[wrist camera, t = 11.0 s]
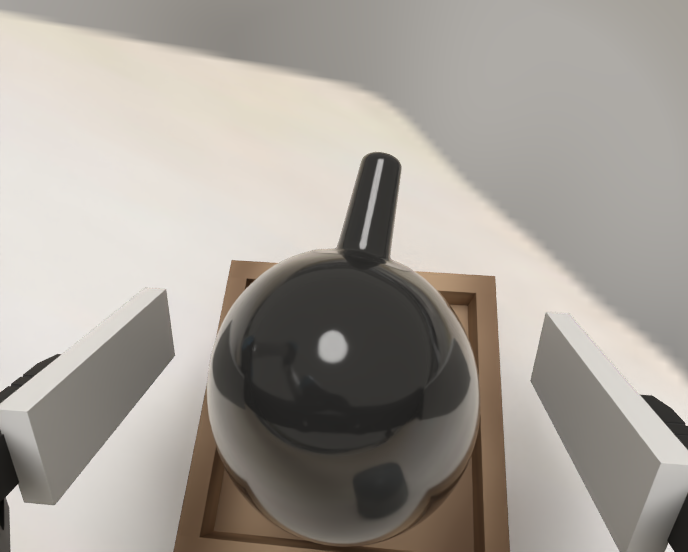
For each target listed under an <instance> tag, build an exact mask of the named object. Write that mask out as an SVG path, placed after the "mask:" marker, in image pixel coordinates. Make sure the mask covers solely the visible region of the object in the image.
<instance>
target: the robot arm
mask: <svg viewBox="0 0 688 552" xmlns="http://www.w3.org/2000/svg"><path fill="white" fill-rule="evenodd" d="M174 356H175V353H174V345H173V337H172V330H171V322H170V315H169V307H168V300H167V292H166V289H161V288H144V289H143V290H141V291H140V292H139V293H138V294H136V295H135V296H134V297H133V298H131V299H130V300H129V301H128V302H126V303H125V304H124V305H123V306H121V307H120V308H119V309H118V310H116V311H115V312H114V313H113V314H111V315H110V316H109V317H108V318H106V319H105V320H104V321H103V322H101V323H100V324H99V325H98V326H96V327H95V328H94V329H93V330H91V331H90V332H89V333H88V334H86V335H85V336H84V337H83V338H81V339H80V340H79V341H78V342H76V343H75V344H74V345H73V346H71V347H70V348H69V349H68V350H67V351H65V352H64V353H63V354H56V355H54V356H52V357H50V358H48V359H46V360H44V361H42V362H40V363H38V364H36V365H35V366H34V367H32V368H31V369H30V370H29V371H27V372H26V373H25V374H23V377H20V378H18V379H17V380H16V381H14V382H13V383H12V384H11V386H8V387H7V388H5V389H4V390H3V391H1V392H0V552H10V521H9V506H8V503H7V500H6V496H7V495H8V494H9V493H10V492H11V491H12V490H13V489H14V488H15V487H16V485H17V484H18V485H19V488H20V491H21V494H22V497H23V500H24V502H25V503H36V504H47V505H55V504H56V503H57V502H58V500H59V499H60V498H61V497H62V496H63V494H64V493H65V492H66V491H67V489H68V488H69V487H70V486H71V484H72V483H73V482H74V481H75V479H76V478H77V477H78V476H79V474H80V473H81V472H82V471H83V469H84V468H85V467H86V466H87V464H88V463H89V462H90V461H91V459H92V458H93V457H94V456H95V454H96V453H97V452H98V451H99V449H100V448H101V447H102V446H103V445H104V443H105V442H106V441H107V440H108V438H109V437H110V436H111V435H112V433H113V432H114V431H115V430H116V428H117V427H118V426H119V425H120V423H121V422H122V421H123V420H124V418H125V417H126V416H127V415H128V413H129V412H130V411H131V410H132V408H133V407H134V406H135V405H136V403H137V402H138V401H139V400H140V398H141V397H142V396H143V395H144V393H145V392H146V391H147V390H148V389H149V387H150V386H151V385H152V384H153V382H154V381H155V380H156V379H157V377H158V376H159V375H160V374H161V372H162V371H163V370H164V369H165V367H166V366H167V365H168V364H169V362H170V361H171V360H172V359H173V357H174ZM531 383H532V385H533V387H534V388H535V390H536V392H537V394H538V396H539V398H540V400H541V402H542V404H543V406H544V408H545V410H546V411H547V413H548V415H549V417H550V419H551V421H552V423H553V425H554V427H555V429H556V431H557V433H558V434H559V436H560V438H561V440H562V442H563V444H564V446H565V448H566V450H567V452H568V454H569V455H570V457H571V459H572V461H573V463H574V465H575V467H576V469H577V471H578V473H579V475H580V477H581V478H582V480H583V482H584V484H585V486H586V488H587V490H588V492H589V494H590V496H591V498H592V500H593V501H594V503H595V505H596V507H597V509H598V511H599V513H600V515H601V517H602V519H603V521H604V522H605V524H606V526H607V528H608V530H609V532H610V534H611V536H612V538H613V540H614V542H615V544H616V545H617V547H618V549H619V551H620V552H665V549H666V547H667V545H668V542H669V544H670V546H671V547H672V549H673V550H674V552H688V426H685V422H684V421H683V420H682V419H681V418H680V417H679V416H678V415H677V414H676V413H675V412H674V410H673V409H672V408H670V407H669V406H667V405H666V404H664V403H663V402H661V401H660V400H658V399H657V398H655V397H654V396H650V395H640V394H639V393H638V392H637V391H636V390H635V389H634V387H633V386H632V385H631V384H630V383H629V382H628V381H627V379H626V378H625V377H624V376H623V375H622V374H621V372H620V371H619V370H618V369H617V368H616V367H615V366H614V364H613V363H612V362H611V361H610V360H609V359H608V357H607V356H606V355H605V354H604V353H603V352H602V351H601V349H600V348H599V347H598V346H597V345H596V344H595V342H594V341H593V340H592V339H591V338H590V337H589V335H588V334H587V333H586V332H585V331H584V330H583V329H582V327H581V326H580V325H579V324H578V323H577V322H576V320H575V319H574V318H573V317H572V316H571V315H570V314H569V313H554V312H546V314H545V319H544V323H543V327H542V332H541V336H540V341H539V345H538V350H537V354H536V359H535V363H534V368H533V372H532V376H531Z"/></svg>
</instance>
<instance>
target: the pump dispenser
mask: <svg viewBox="0 0 688 552" xmlns="http://www.w3.org/2000/svg"><path fill="white" fill-rule="evenodd" d="M400 176H401V164H400V162H399V161H398V159H396V158H395V157H394V156H392V155H390V154H387V153H382V152H373V153H369V154H367V155H366V156H364V157H363V159H362V161H361V164H360V168H359V171H358V175H357V178H356V182H355V186H354V189H353V193H352V196H351V200H350V203H349V207H348V210H347V214H346V218H345V221H344V225H343V228H342V232H341V235H340V239H339V242H338V245H337V247H336V248H335V249H317V250H312V251H308V252H305V253H301V254H298V255H295V256H292V257H290V258H288V259H285V260H283V261H281V262H279V263H278V264H276V265H274V266H273V267H271V268H270V269H268V270H267V271H265V272H264V273H263V274H261V275H260V276H259V277H258V278H256V279H255V280H254V281H253V282H252V283H251V284H250V285H249V286H248V287H247V288H246V289H245V290H244V291H243V292H242V293H241V295H240V296H239V297H238V298H237V300H236V301H235V302H234V304H233V305H232V307H231V308H230V310H229V312H228V313H227V315H226V317H225V319H224V321H223V323H222V325H221V327H220V329H219V331H218V334H217V337H216V339H215V342H214V345H213V349H212V353H211V357H210V362H209V368H208V377H207V404H208V413H209V420H210V425H211V430H212V434H213V438H214V442H215V445H216V448H217V451H218V454H219V456H220V459H221V461H222V463H223V465H224V467H225V470H226V471H227V473H228V475H229V477H230V479H231V480H232V482H233V484H234V485H235V486H236V488H237V489H238V491H239V492H240V493H241V495H242V496H243V497H244V498H245V499H246V501H247V502H248V503H249V504H250V505H251V506H252V507H253V508H254V509H255V510H256V511H257V512H258V513H259V514H261V515H262V516H263V517H264V518H266V519H267V520H268V521H269V522H271V523H272V524H274V525H275V526H277V527H279V528H280V529H282V530H284V531H286V532H288V533H289V534H292V535H294V536H296V537H299V538H301V539H304V540H307V541H310V542H314V543H318V544H323V545H329V546H339V547H354V546H364V545H370V544H375V543H379V542H383V541H386V540H389V539H391V538H394V537H397V536H399V535H401V534H403V533H405V532H407V531H409V530H411V529H412V528H414V527H415V526H417V525H418V524H420V523H421V522H423V521H424V520H425V519H427V518H428V517H429V516H430V515H431V514H433V513H434V512H435V511H436V510H437V509H438V508H439V507H440V506H441V505H442V504H443V503H444V502H445V500H446V499H447V498H448V497H449V495H450V494H451V493H452V491H453V490H454V489H455V487H456V486H457V484H458V482H459V481H460V479H461V477H462V475H463V474H464V472H465V470H466V468H467V465H468V463H469V461H470V458H471V455H472V453H473V450H474V446H475V443H476V439H477V434H478V429H479V422H480V409H481V394H480V382H479V375H478V369H477V364H476V360H475V356H474V353H473V349H472V346H471V344H470V341H469V338H468V336H467V334H466V331H465V329H464V327H463V325H462V323H461V321H460V320H459V318H458V316H457V315H456V313H455V311H454V310H453V309H452V307H451V306H450V304H449V303H448V302H447V301H446V299H445V298H444V297H443V296H442V295H441V293H440V292H439V291H438V290H437V289H436V288H435V287H434V286H433V285H431V284H430V283H429V282H428V281H427V280H426V279H424V278H423V277H422V276H420V275H419V274H418V273H416V272H415V271H413V270H412V269H410V268H409V267H407V266H405V265H403V264H401V263H399V262H396V261H394V260H392V259H391V258H390V254H391V245H392V237H393V229H394V222H395V214H396V207H397V199H398V192H399V184H400Z"/></svg>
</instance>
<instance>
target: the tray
mask: <svg viewBox="0 0 688 552" xmlns="http://www.w3.org/2000/svg"><path fill="white" fill-rule="evenodd" d="M276 264H278V263H269V262H252V261H236V260H232V261H231V266H230V271H229V276H228V281H227V286H226V291H225V296H224V301H223V306H222V311H221V316H220V321H219V326H218V331H219V329H220V327H221V325H222V323H223V321H224V319H225V317H226V315H227V313H228V312H229V310H230V308H231V307H232V305H233V304H234V302H235V301H236V300H237V298H238V297H239V296H240V295H241V293H242V292H243V291H244V290H245V289H246V288H247V287H248V286H249V285H250V284H251V283H252V282H253V281H254V280H255V279H256V278H258V277H259V276H260V275H261V274H263V273H264V272H265V271H267V270H268V269H270V268H271V267H273V266H274V265H276ZM415 272H416V273H418V274H419V275H420V276H422V277H423V278H424V279H426V280H427V281H428V282H429V283H430V284H431V285H433V286H434V287H435V288H436V289H437V290H438V291H439V292H440V293H441V295H442V296H443V297H444V298H445V299H446V301H447V302H448V303H449V304H450V306H451V307H452V309H453V310H454V311H455V313H456V315H457V316H458V318H459V320H460V321H461V323H462V325H463V327H464V329H465V331H466V334H467V336H468V338H469V341H470V344H471V346H472V349H473V353H474V356H475V360H476V364H477V369H478V375H479V382H480V394H481V409H480V422H479V429H478V434H477V439H476V443H475V446H474V450H473V453H472V455H471V458H470V461H469V463H468V465H467V468H466V470H465V472H464V474H463V475H462V477H461V479H460V481H459V482H458V484H457V486H456V487H455V489H454V490H453V491H452V493H451V494H450V495H449V497H448V498H447V499H446V500H445V502H444V503H443V504H442V505H441V506H440V507H439V508H438V509H437V510H436V511H435V512H434V513H433V514H431V515H430V516H429V517H428V518H427V519H425V520H424V521H423V522H421V523H420V524H418V525H417V526H415V527H414V528H412V529H411V530H409V531H407V532H405V533H403V534H401V535H399V536H397V537H394V538H391V539H389V540H386V541H383V542H379V543H375V544H370V545H364V546H354V547H339V546H329V545H323V544H318V543H314V542H310V541H307V540H304V539H301V538H299V537H296V536H294V535H292V534H289V533H288V532H286V531H284V530H282V529H280V528H279V527H277V526H275V525H274V524H272V523H271V522H269V521H268V520H267V519H266V518H264V517H263V516H262V515H261V514H259V513H258V512H257V511H256V510H255V509H254V508H253V507H252V506H251V505H250V504H249V503H248V502H247V501H246V499H245V498H244V497H243V496H242V495H241V493H240V492H239V491H238V489H237V488H236V486H235V485H234V484H233V482H232V480H231V479H230V477H229V475H228V473H227V471H226V470H225V467H224V465H223V463H222V461H221V459H220V456H219V454H218V451H217V448H216V445H215V442H214V438H213V434H212V430H211V425H210V420H209V413H208V404H207V386H206V391H205V396H204V401H203V406H202V411H201V416H200V421H199V426H198V431H197V436H196V441H195V446H194V451H193V456H192V461H191V466H190V471H189V476H188V481H187V486H186V491H185V496H184V501H183V506H182V511H181V516H180V521H179V526H178V531H177V536H176V541H175V546H174V551H173V552H510V546H509V527H508V508H507V489H506V471H505V452H504V433H503V414H502V396H501V377H500V358H499V339H498V321H497V302H496V283H495V276H483V275H466V274H450V273H433V272H417V271H415ZM218 331H217V334H218ZM216 337H217V336H216Z"/></svg>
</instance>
